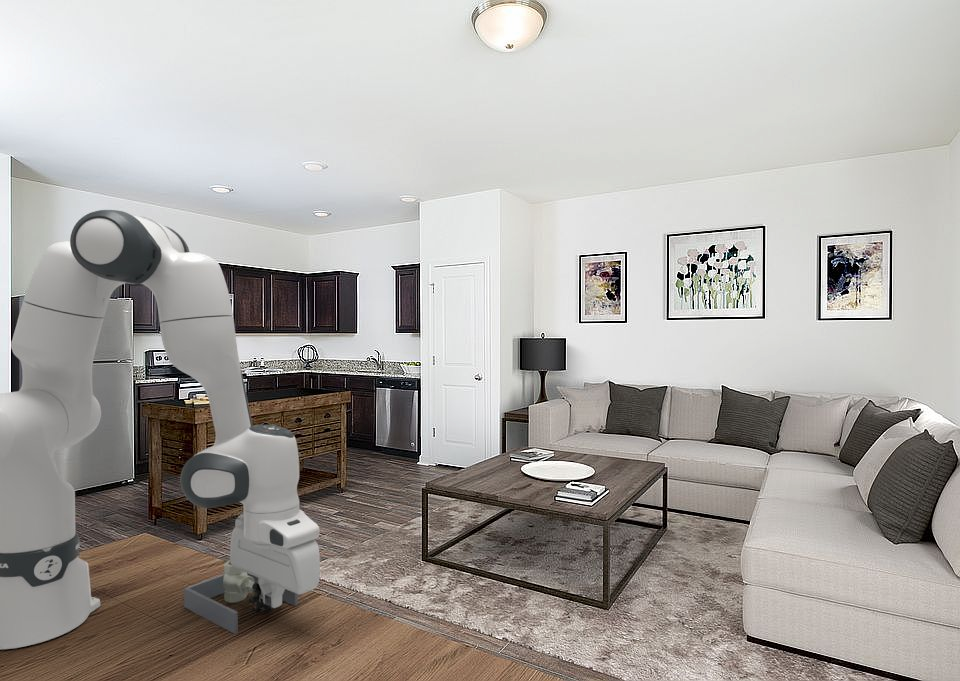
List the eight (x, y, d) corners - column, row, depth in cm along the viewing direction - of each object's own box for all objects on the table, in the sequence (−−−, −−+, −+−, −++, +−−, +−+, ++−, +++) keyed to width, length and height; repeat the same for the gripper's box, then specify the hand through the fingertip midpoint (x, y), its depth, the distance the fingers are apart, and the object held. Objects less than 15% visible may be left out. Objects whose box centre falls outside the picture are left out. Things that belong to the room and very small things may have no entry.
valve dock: (183, 607, 102) (183, 588, 102) (246, 582, 112) (246, 565, 112) (234, 633, 93) (234, 613, 93) (297, 604, 103) (297, 586, 103)
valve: (212, 602, 104) (251, 621, 97) (211, 565, 104) (251, 582, 97) (245, 588, 109) (285, 606, 102) (245, 553, 109) (284, 568, 102)
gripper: (219, 516, 101) (220, 595, 101) (293, 540, 89) (294, 630, 89) (252, 507, 106) (253, 582, 106) (326, 529, 94) (327, 614, 94)
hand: (272, 604), depth 97 cm, fingers closed
